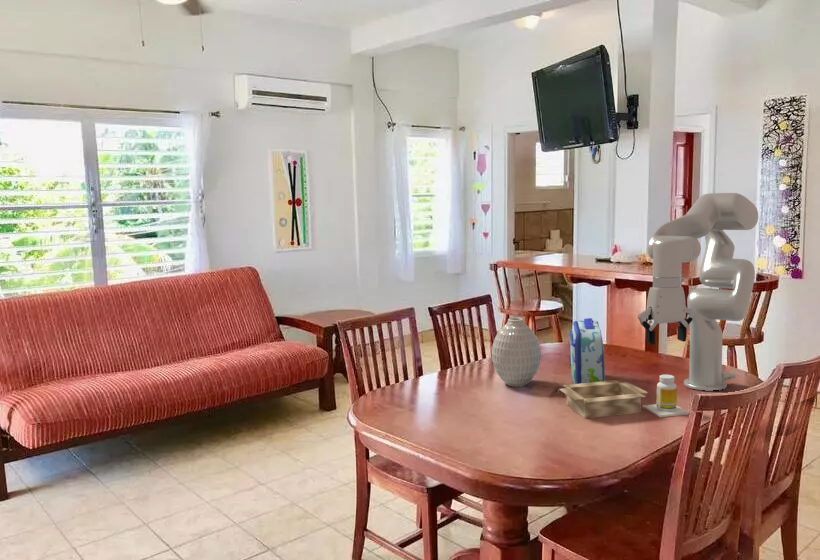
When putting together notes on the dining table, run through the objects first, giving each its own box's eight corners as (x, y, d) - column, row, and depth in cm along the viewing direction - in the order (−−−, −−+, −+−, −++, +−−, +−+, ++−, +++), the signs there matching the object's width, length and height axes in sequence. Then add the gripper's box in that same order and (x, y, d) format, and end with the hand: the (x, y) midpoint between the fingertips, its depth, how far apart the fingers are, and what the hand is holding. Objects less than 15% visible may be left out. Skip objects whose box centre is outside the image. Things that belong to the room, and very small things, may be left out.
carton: (622, 396, 208) (623, 379, 207) (653, 414, 191) (653, 395, 190) (555, 403, 204) (555, 385, 203) (580, 422, 187) (580, 402, 186)
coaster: (670, 404, 199) (671, 402, 199) (689, 414, 190) (689, 412, 190) (643, 407, 197) (643, 405, 197) (660, 417, 188) (660, 415, 188)
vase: (486, 388, 222) (485, 322, 219) (499, 375, 236) (497, 313, 233) (535, 392, 215) (534, 324, 213) (545, 378, 230) (544, 315, 227)
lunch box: (569, 372, 237) (568, 314, 234) (600, 373, 235) (600, 314, 232) (571, 395, 212) (571, 329, 209) (607, 396, 209) (607, 330, 207)
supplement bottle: (652, 407, 195) (652, 375, 194) (667, 404, 197) (667, 372, 196) (665, 412, 190) (665, 379, 189) (680, 410, 192) (681, 377, 191)
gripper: (686, 278, 194) (685, 336, 197) (631, 283, 191) (631, 341, 193) (702, 282, 187) (701, 342, 189) (646, 286, 184) (645, 347, 186)
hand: (666, 342), depth 191 cm, fingers open, 9 cm apart
